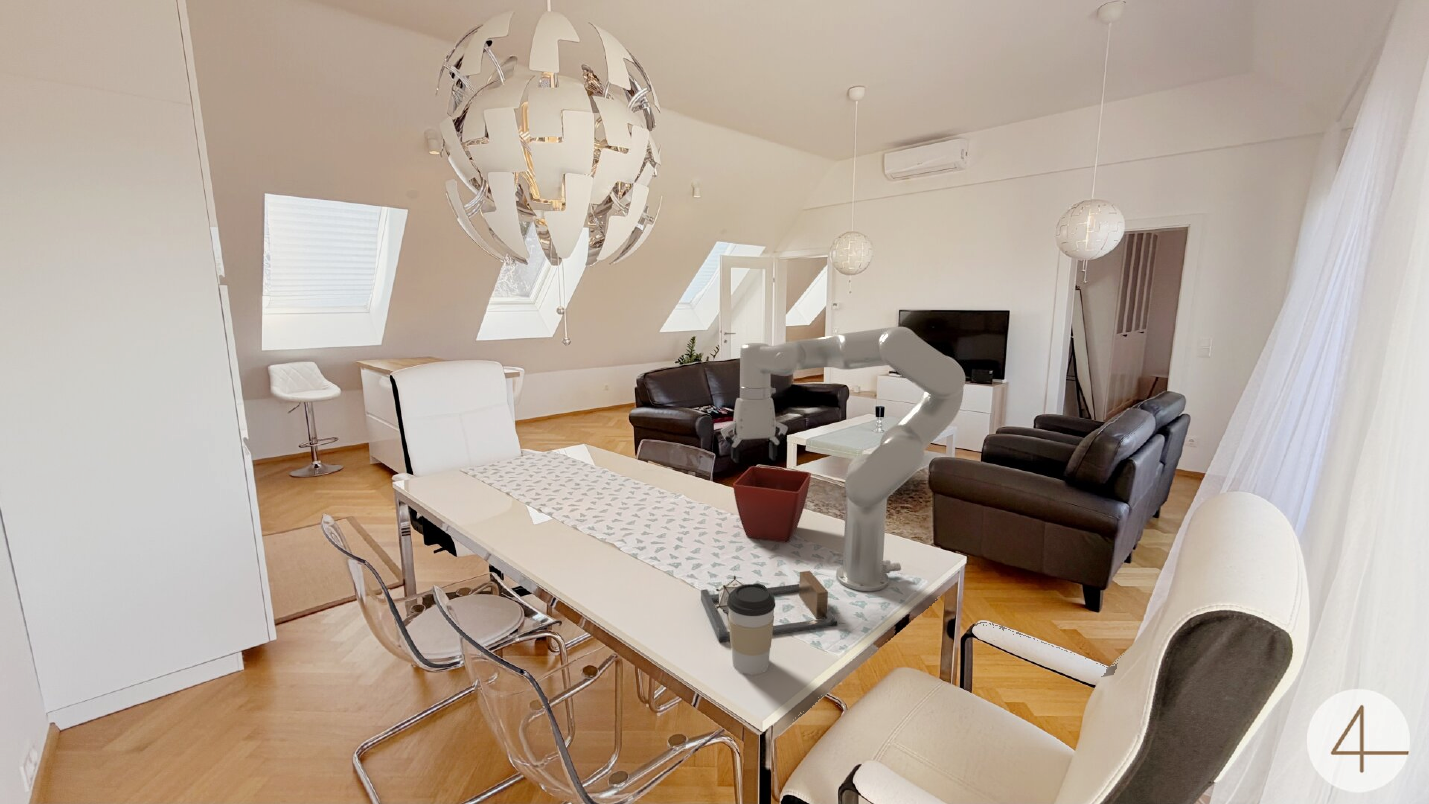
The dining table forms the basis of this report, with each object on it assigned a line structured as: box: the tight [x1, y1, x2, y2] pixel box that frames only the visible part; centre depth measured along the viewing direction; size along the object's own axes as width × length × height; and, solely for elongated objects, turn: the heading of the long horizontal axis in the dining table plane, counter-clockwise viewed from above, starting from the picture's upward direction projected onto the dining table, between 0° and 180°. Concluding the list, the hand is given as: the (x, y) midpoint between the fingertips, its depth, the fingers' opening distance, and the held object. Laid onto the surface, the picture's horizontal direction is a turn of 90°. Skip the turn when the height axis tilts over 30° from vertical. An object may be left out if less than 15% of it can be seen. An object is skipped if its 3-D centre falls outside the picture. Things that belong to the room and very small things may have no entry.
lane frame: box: [700, 570, 838, 643], centre depth 128 cm, size 26×17×6 cm, turn 104°
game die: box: [715, 575, 744, 615], centre depth 127 cm, size 9×8×10 cm
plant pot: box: [732, 465, 812, 543], centre depth 171 cm, size 19×19×17 cm
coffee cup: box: [727, 582, 776, 676], centre depth 109 cm, size 9×9×15 cm
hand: (754, 460), depth 146 cm, fingers open, 9 cm apart
